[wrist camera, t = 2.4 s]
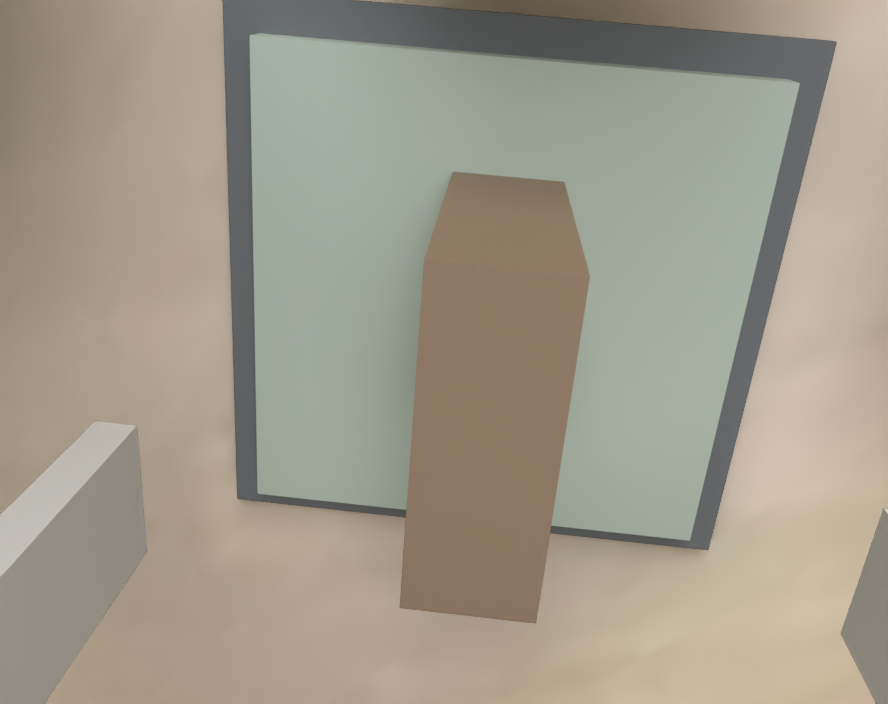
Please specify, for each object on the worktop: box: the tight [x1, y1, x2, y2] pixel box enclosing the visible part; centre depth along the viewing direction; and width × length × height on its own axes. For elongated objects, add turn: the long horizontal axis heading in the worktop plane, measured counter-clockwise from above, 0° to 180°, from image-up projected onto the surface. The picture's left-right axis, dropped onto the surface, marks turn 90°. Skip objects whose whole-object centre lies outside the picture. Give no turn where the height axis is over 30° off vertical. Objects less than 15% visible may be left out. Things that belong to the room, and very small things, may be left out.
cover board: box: [250, 33, 800, 623], centre depth 21 cm, size 14×14×9 cm
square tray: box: [223, 0, 837, 550], centre depth 25 cm, size 16×16×1 cm
